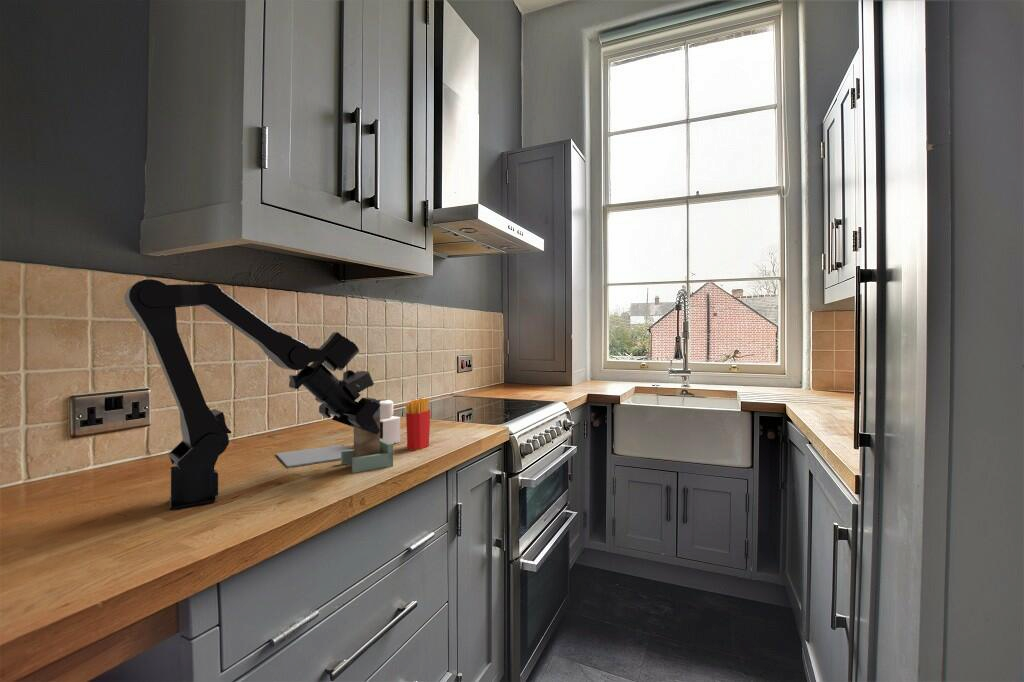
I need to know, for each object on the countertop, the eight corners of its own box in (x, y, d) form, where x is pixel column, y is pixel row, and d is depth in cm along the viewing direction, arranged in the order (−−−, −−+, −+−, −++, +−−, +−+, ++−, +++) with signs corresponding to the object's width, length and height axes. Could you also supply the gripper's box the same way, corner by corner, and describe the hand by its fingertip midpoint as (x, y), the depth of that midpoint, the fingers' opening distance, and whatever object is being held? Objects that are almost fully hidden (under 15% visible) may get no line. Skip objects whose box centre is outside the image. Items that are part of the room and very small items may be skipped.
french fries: (420, 442, 128) (420, 396, 128) (433, 444, 126) (433, 397, 126) (401, 450, 119) (401, 400, 119) (415, 451, 117) (415, 401, 117)
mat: (287, 467, 102) (287, 466, 102) (275, 455, 114) (275, 453, 114) (359, 457, 112) (359, 455, 112) (341, 446, 123) (341, 444, 123)
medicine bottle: (362, 444, 125) (363, 400, 125) (381, 439, 132) (381, 397, 132) (382, 447, 122) (382, 402, 122) (400, 442, 128) (400, 399, 128)
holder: (353, 472, 99) (353, 449, 99) (341, 463, 106) (341, 442, 106) (392, 466, 104) (393, 444, 104) (378, 457, 111) (378, 437, 111)
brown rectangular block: (360, 468, 102) (360, 410, 102) (353, 464, 106) (353, 407, 106) (380, 465, 105) (379, 408, 105) (372, 461, 108) (372, 406, 108)
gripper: (372, 360, 96) (416, 408, 104) (332, 358, 109) (374, 400, 117) (335, 402, 90) (385, 448, 98) (297, 394, 103) (344, 435, 111)
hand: (372, 430), depth 106 cm, fingers closed on brown rectangular block, 5 cm apart
